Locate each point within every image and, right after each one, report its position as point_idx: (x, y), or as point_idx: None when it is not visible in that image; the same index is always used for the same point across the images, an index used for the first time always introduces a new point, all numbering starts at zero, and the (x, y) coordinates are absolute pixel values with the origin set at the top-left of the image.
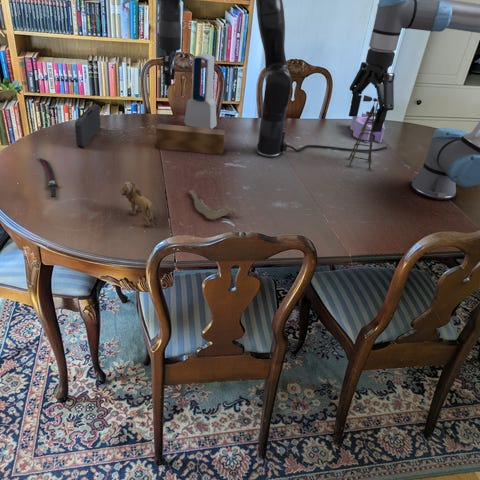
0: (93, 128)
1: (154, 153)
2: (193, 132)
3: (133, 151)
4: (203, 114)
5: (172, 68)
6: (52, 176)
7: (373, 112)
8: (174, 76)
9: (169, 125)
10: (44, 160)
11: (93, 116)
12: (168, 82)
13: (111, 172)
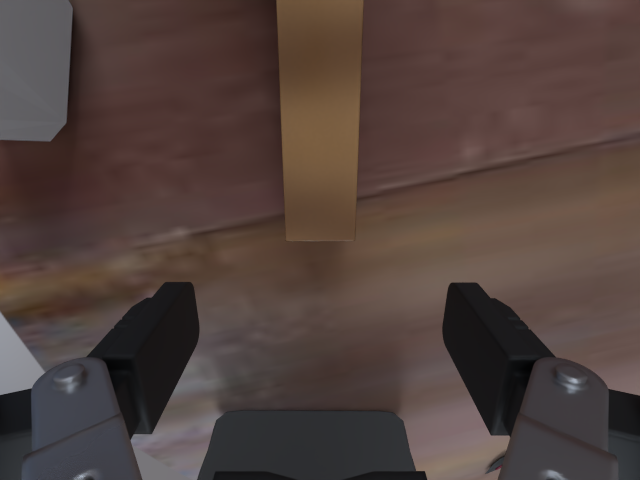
0: (293, 430)
1: (396, 211)
2: (361, 42)
3: (391, 281)
4: (2, 17)
5: (550, 426)
6: None
7: None
8: (165, 295)
9: (296, 189)
10: (499, 462)
11: (279, 466)
12: (513, 320)
13: (565, 306)
